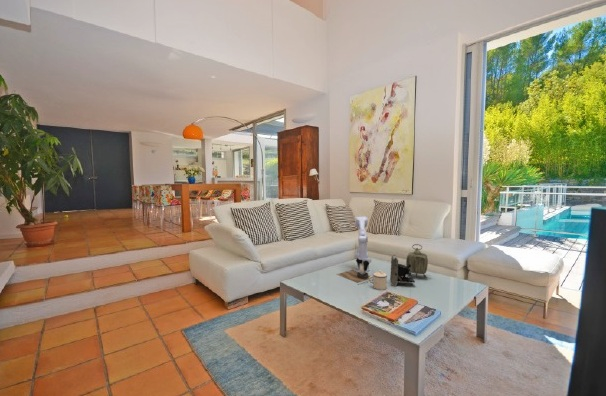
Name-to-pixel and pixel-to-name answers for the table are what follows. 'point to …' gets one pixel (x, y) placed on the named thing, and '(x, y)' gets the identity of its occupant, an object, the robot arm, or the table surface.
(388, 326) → the table surface
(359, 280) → the board
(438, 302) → the table surface
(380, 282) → the teacup with lid
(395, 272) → the vintage camera
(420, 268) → the tabletop clock
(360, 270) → the cap plug
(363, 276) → the faceted grey ring
